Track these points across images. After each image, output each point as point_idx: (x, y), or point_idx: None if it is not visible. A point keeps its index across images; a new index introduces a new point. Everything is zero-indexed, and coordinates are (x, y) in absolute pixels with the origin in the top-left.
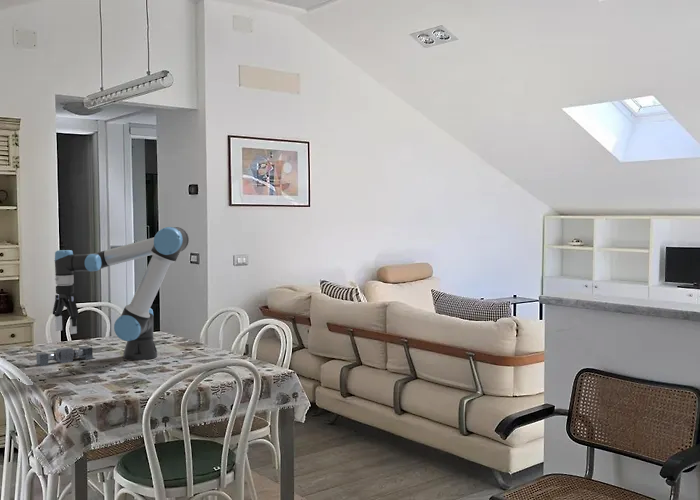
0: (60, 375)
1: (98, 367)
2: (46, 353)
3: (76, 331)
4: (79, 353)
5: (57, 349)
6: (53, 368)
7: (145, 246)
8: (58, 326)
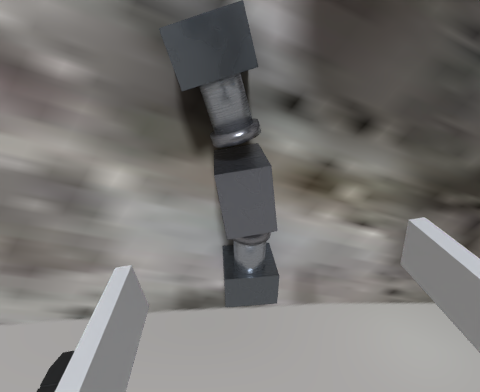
0: None
1: (464, 83)
2: (267, 280)
3: (438, 230)
4: (249, 109)
5: (236, 235)
6: (332, 238)
7: None
8: (132, 329)
